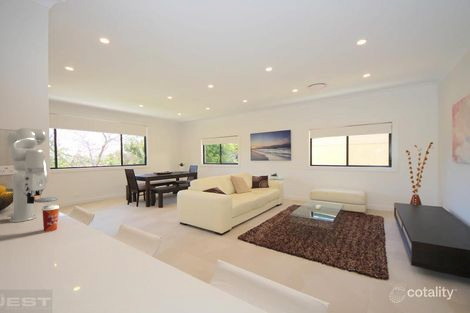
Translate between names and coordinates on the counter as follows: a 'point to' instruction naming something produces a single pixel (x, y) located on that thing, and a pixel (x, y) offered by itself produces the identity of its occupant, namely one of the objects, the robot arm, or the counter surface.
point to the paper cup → (50, 217)
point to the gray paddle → (44, 199)
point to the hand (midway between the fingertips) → (33, 202)
